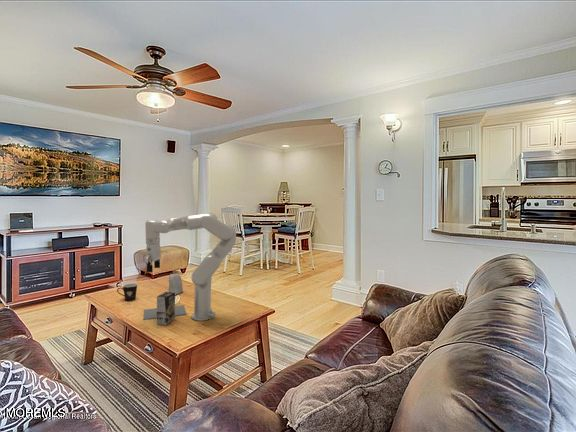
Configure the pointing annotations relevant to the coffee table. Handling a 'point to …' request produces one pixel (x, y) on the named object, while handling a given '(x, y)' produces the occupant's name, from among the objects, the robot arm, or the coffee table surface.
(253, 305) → the coffee table surface
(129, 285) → the coffee mug
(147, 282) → the coffee table surface
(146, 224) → the robot arm
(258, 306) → the coffee table surface
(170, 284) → the decorative stone
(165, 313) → the coffee box
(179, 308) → the mat
